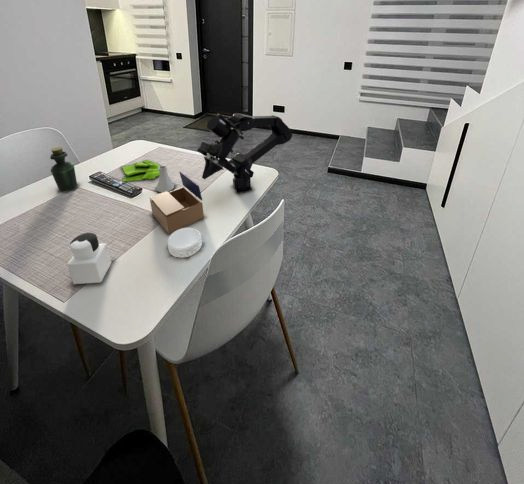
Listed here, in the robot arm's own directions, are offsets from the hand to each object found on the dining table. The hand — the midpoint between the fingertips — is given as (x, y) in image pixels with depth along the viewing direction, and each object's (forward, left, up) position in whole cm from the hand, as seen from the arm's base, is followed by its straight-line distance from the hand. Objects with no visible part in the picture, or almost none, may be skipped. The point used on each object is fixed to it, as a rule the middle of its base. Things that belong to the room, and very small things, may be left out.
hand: (203, 178), depth 105 cm
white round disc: (+10, +20, -11) cm, 25 cm away
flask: (+13, -18, -11) cm, 25 cm away
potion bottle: (+51, -34, -11) cm, 62 cm away
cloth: (+22, -39, -11) cm, 46 cm away
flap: (+5, +2, -1) cm, 6 cm away
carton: (+11, +4, -11) cm, 16 cm away
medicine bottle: (+35, +21, -11) cm, 43 cm away
